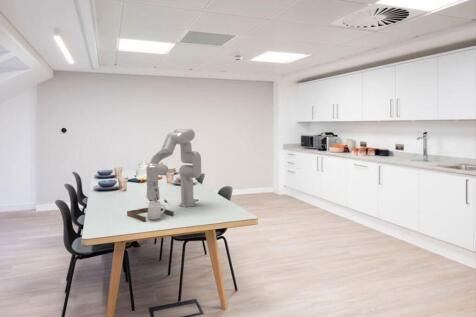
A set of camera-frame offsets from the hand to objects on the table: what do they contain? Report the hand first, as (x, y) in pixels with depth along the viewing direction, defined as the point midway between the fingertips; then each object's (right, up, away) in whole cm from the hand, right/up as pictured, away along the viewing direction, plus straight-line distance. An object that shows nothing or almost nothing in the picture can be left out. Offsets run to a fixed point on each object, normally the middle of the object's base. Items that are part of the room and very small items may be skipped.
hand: (152, 210), depth 249 cm
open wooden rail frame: (-3, -5, +5) cm, 7 cm away
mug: (+3, -4, -3) cm, 6 cm away
